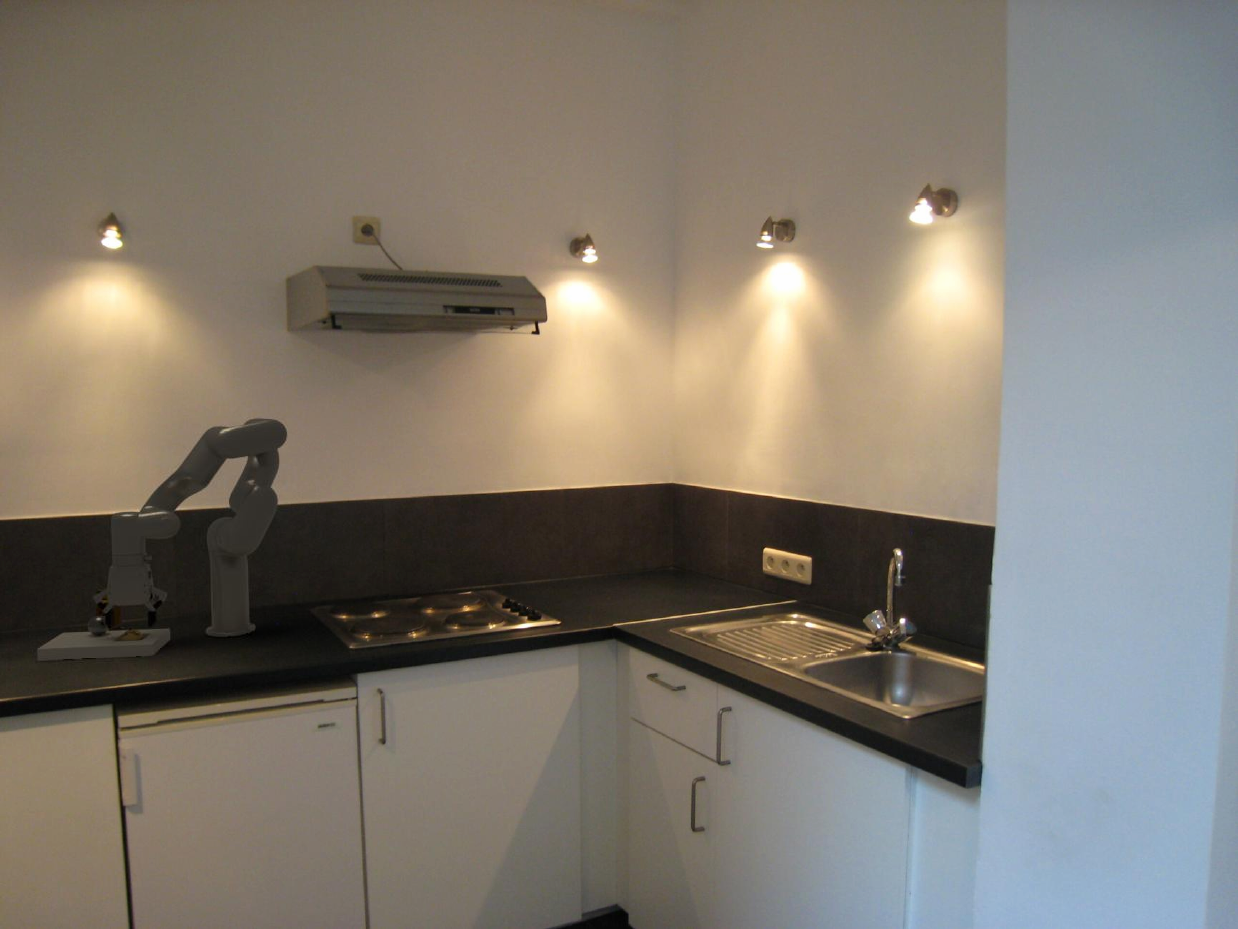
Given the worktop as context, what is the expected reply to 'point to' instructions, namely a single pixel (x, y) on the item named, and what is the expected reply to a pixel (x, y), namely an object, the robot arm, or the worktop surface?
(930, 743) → the worktop surface
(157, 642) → the hole plate
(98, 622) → the steel ball
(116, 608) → the condiment
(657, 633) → the worktop surface
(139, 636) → the brass ball
